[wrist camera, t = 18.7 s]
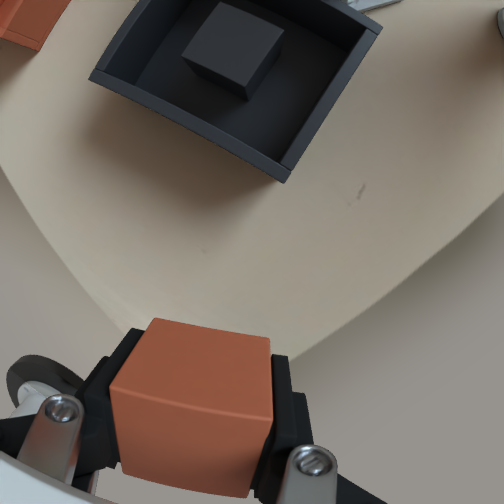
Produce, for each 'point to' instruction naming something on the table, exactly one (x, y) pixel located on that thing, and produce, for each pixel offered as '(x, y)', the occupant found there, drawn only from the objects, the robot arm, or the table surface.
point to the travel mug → (501, 21)
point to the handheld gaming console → (368, 4)
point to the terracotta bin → (29, 20)
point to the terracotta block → (194, 407)
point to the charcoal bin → (226, 103)
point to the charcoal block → (234, 50)
